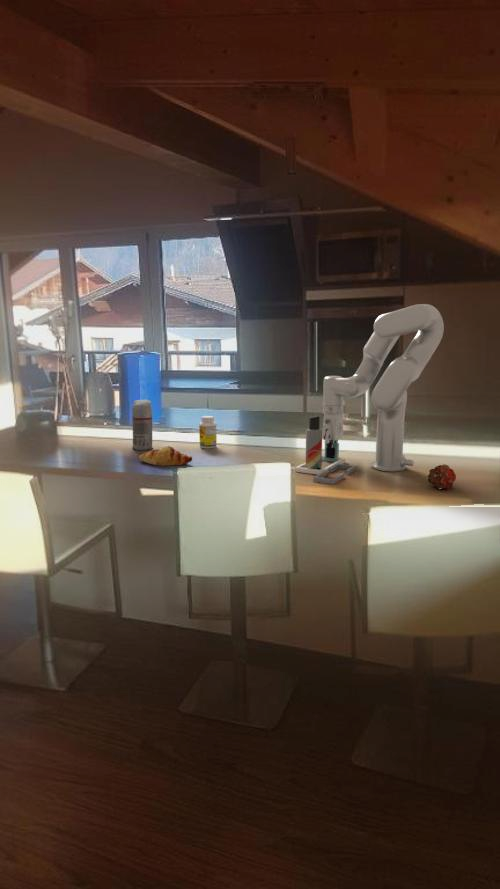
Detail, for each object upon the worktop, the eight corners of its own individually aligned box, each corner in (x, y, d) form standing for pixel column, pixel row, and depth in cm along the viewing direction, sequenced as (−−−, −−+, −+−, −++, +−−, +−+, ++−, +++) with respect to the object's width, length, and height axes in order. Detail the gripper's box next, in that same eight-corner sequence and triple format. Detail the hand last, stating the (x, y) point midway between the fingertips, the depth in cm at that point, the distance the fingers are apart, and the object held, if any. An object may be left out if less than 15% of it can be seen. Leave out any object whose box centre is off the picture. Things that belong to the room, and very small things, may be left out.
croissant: (136, 472, 252) (131, 456, 247) (145, 455, 259) (140, 439, 254) (190, 474, 247) (186, 458, 242) (197, 457, 254) (193, 440, 249)
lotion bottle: (316, 474, 236) (317, 417, 232) (302, 471, 239) (303, 416, 235) (324, 470, 240) (325, 415, 236) (310, 468, 243) (311, 414, 239)
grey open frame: (355, 469, 242) (356, 465, 241) (333, 484, 223) (333, 479, 222) (337, 467, 245) (337, 463, 245) (313, 481, 226) (313, 477, 226)
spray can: (157, 447, 277) (156, 399, 273) (144, 451, 270) (142, 402, 266) (142, 445, 282) (140, 398, 277) (128, 449, 275) (126, 400, 271)
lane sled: (345, 462, 253) (345, 443, 252) (322, 475, 234) (323, 455, 232) (319, 458, 258) (319, 441, 257) (295, 471, 239) (295, 452, 237)
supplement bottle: (198, 445, 281) (198, 415, 279) (215, 445, 283) (215, 414, 280) (200, 449, 275) (200, 418, 272) (217, 448, 276) (217, 417, 273)
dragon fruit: (436, 497, 213) (439, 493, 224) (460, 484, 210) (462, 480, 222) (421, 474, 214) (425, 471, 226) (445, 461, 212) (448, 458, 223)
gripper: (334, 413, 242) (333, 462, 246) (349, 407, 256) (348, 454, 260) (315, 411, 246) (314, 460, 250) (331, 405, 259) (330, 452, 263)
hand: (331, 456), depth 255 cm, fingers closed on lane sled
